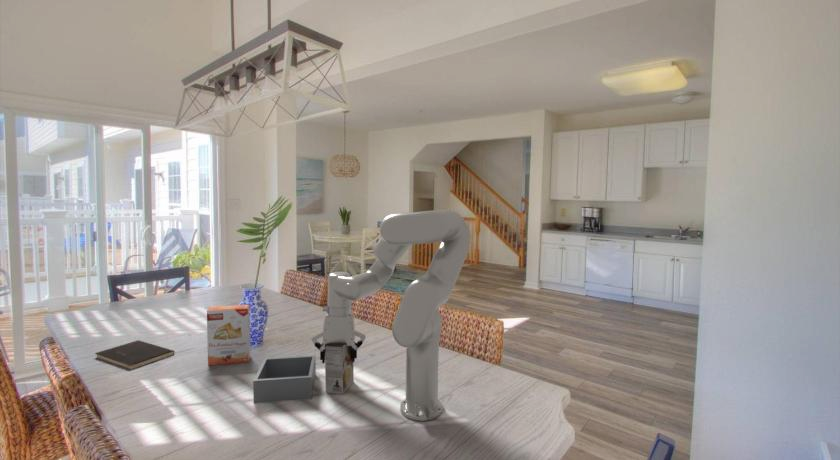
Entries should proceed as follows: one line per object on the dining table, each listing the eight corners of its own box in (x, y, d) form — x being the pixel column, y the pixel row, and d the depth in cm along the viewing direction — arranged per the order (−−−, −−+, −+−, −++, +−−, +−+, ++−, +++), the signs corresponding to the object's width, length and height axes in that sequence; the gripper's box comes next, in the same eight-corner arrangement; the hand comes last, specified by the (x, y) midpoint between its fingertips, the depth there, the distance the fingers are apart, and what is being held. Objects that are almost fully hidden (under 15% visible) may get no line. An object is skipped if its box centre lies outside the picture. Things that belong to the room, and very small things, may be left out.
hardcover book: (130, 371, 144) (130, 365, 143) (95, 358, 154) (95, 352, 154) (174, 355, 158) (174, 349, 158) (140, 345, 168) (139, 339, 168)
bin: (311, 398, 125) (311, 377, 124) (253, 403, 122) (253, 380, 121) (315, 374, 142) (315, 355, 141) (264, 378, 138) (264, 358, 138)
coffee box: (336, 379, 138) (336, 334, 137) (354, 381, 137) (354, 335, 135) (324, 392, 129) (324, 343, 128) (343, 394, 128) (343, 345, 126)
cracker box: (207, 366, 147) (205, 310, 145) (211, 360, 153) (209, 306, 151) (249, 362, 151) (247, 308, 149) (251, 356, 157) (249, 303, 155)
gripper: (310, 314, 125) (310, 367, 127) (366, 313, 129) (365, 364, 130) (312, 307, 133) (312, 357, 134) (365, 306, 136) (364, 355, 138)
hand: (338, 361), depth 132 cm, fingers open, 9 cm apart
